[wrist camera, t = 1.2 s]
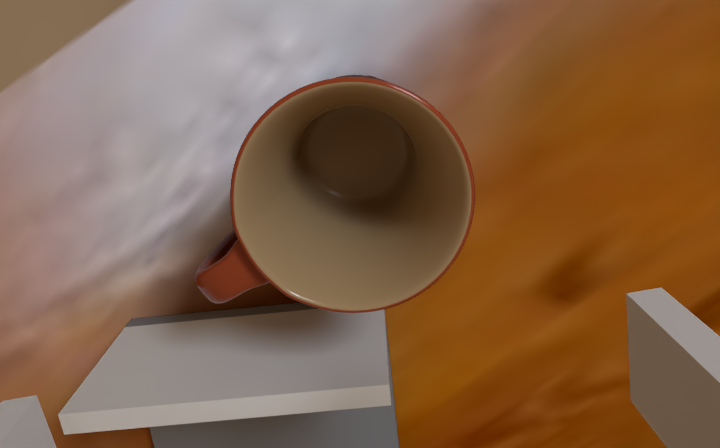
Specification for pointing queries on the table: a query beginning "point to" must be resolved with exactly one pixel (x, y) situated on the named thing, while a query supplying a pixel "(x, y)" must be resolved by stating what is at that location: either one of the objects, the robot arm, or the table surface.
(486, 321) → the table surface
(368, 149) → the mug
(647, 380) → the robot arm
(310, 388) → the rack
